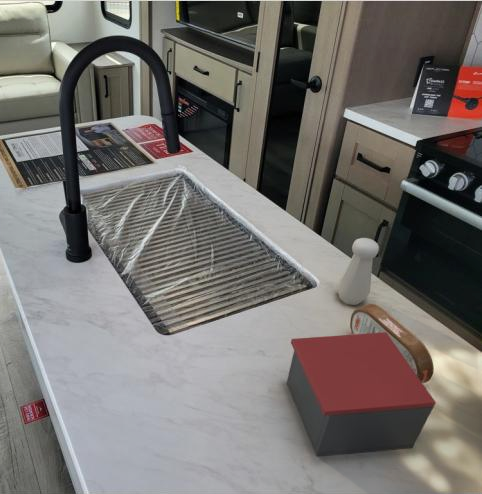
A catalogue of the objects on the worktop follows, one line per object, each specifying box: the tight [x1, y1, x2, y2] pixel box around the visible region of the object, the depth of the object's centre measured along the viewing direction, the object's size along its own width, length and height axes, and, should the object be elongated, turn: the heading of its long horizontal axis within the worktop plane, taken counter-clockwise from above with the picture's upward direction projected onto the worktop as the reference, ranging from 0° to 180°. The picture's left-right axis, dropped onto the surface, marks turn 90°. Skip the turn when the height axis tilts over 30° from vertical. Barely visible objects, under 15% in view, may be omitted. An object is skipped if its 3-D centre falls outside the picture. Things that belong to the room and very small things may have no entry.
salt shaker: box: [336, 237, 380, 306], centre depth 88 cm, size 6×6×13 cm
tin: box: [349, 303, 435, 384], centre depth 76 cm, size 15×3×8 cm, turn 22°
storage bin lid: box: [290, 332, 437, 416], centre depth 65 cm, size 14×13×1 cm
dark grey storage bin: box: [286, 350, 434, 457], centre depth 67 cm, size 14×13×9 cm
